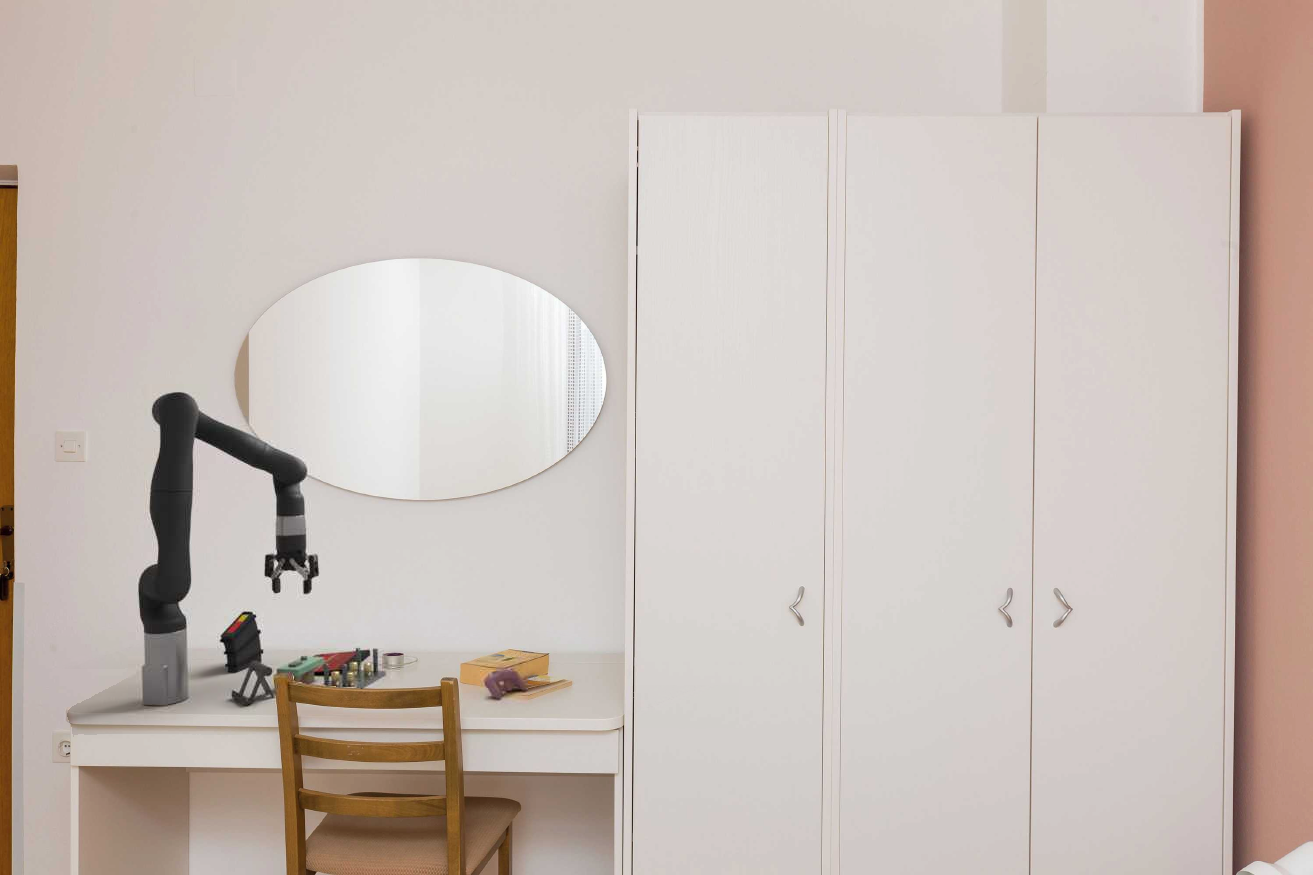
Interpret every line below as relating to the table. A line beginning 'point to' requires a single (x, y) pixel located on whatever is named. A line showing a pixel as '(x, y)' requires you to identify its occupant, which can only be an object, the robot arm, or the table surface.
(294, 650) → the table surface
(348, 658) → the binder
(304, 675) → the rest
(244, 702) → the portable electronic device stand
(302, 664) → the board
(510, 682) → the purple animal figurine
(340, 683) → the chassis
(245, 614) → the black box
